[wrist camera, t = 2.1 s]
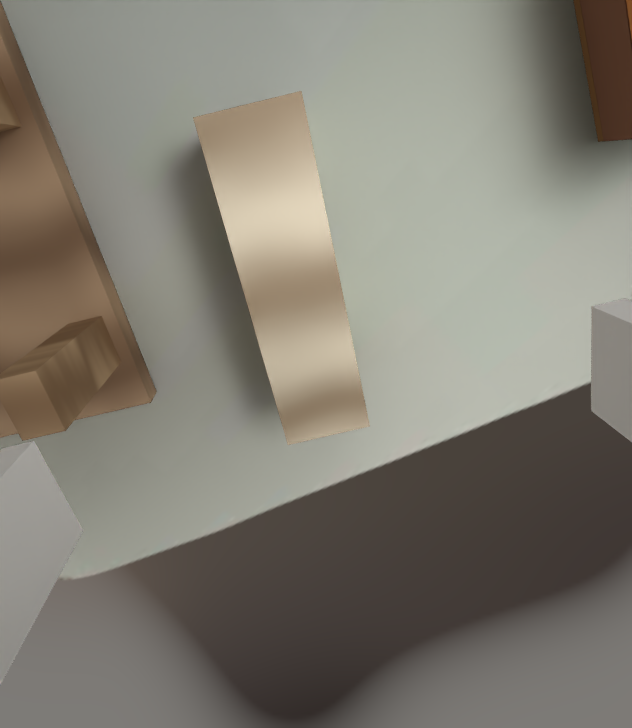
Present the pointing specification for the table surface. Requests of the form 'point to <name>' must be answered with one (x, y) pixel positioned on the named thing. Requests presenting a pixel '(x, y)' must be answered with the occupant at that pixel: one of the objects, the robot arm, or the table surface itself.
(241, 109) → the cream wooden block
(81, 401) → the wooden block assembly
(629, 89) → the wooden box with plunger
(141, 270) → the table surface
